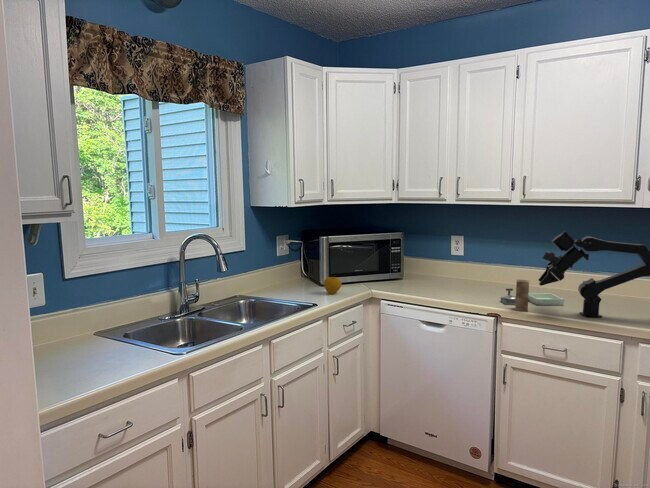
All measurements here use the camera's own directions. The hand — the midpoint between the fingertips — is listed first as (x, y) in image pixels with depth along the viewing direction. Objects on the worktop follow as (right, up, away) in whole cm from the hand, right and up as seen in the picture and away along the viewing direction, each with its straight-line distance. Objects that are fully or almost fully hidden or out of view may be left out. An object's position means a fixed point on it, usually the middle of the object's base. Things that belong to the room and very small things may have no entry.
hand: (539, 282), depth 206 cm
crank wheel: (-6, -9, +16) cm, 19 cm away
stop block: (-6, -12, +4) cm, 14 cm away
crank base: (-6, -11, +16) cm, 20 cm away
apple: (-89, -9, +37) cm, 97 cm away
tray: (+10, -11, +17) cm, 22 cm away
